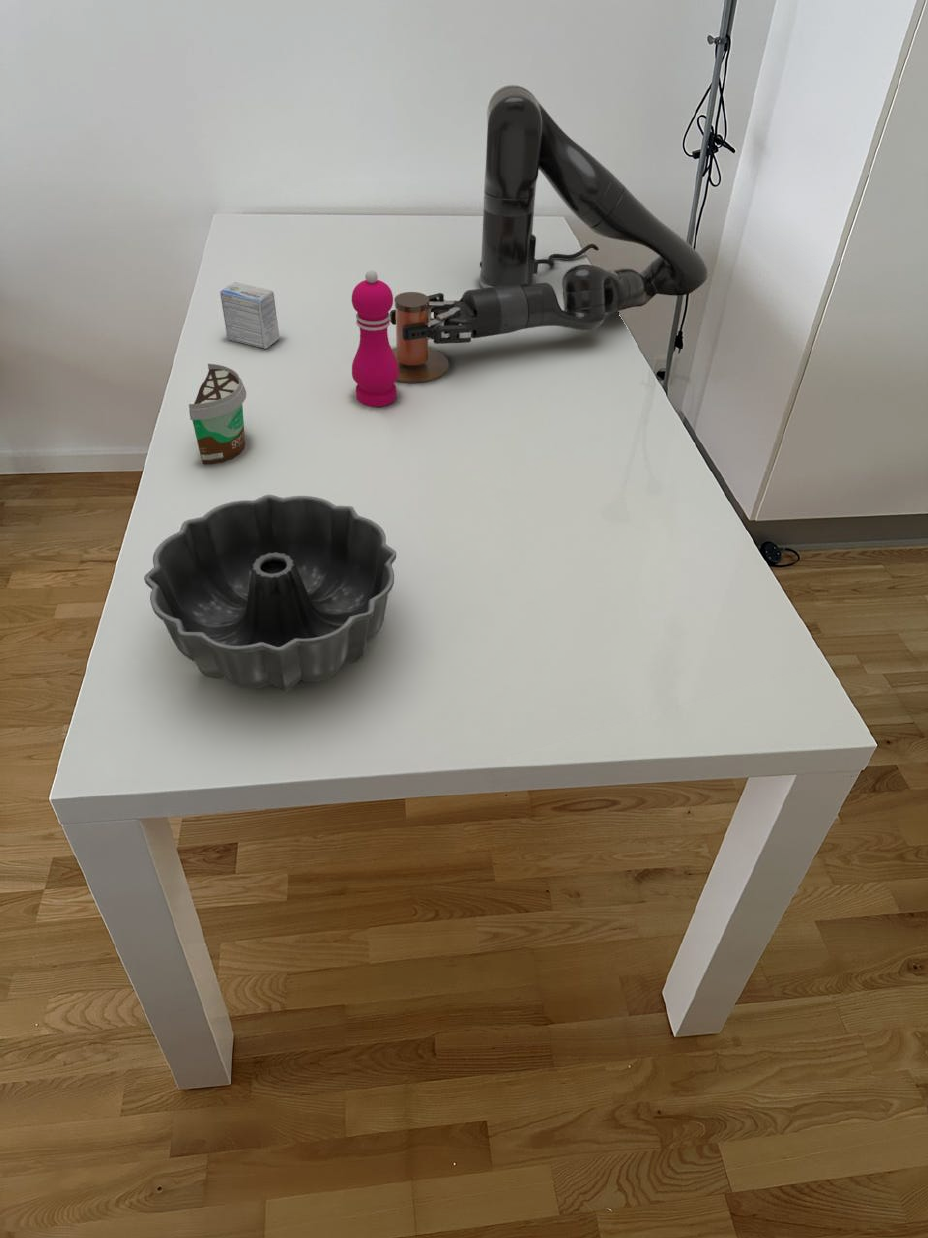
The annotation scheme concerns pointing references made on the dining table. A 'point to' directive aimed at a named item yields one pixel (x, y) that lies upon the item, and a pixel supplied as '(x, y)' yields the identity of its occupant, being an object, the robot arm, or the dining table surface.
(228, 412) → the food container
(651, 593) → the dining table surface
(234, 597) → the bundt pan
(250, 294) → the medicine box
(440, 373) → the cork coaster
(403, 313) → the spice jar
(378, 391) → the pepper mill
